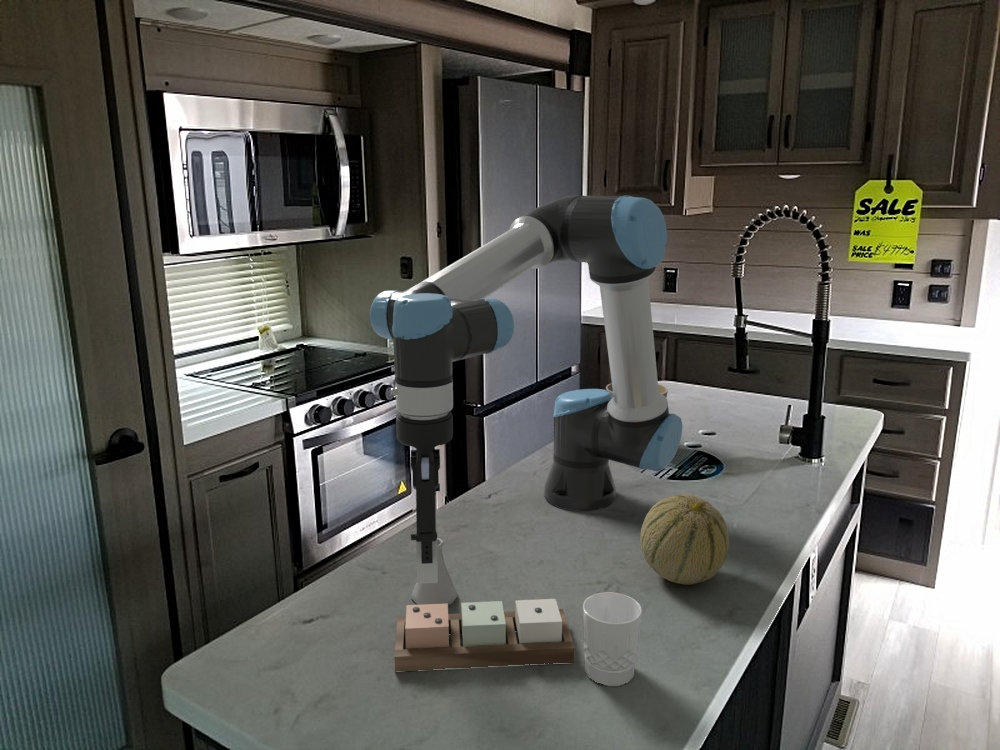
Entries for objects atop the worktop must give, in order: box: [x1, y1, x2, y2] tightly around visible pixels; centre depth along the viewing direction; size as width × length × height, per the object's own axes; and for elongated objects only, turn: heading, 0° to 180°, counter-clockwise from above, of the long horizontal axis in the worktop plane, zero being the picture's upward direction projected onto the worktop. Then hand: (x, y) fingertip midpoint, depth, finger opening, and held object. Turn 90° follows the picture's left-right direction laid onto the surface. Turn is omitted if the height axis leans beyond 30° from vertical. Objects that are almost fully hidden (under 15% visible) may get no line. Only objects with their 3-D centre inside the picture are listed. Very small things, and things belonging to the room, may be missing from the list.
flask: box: [410, 537, 459, 606], centre depth 123 cm, size 7×7×10 cm
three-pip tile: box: [405, 603, 450, 649], centre depth 110 cm, size 6×6×3 cm
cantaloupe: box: [639, 493, 731, 586], centre depth 129 cm, size 15×15×15 cm
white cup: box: [582, 591, 643, 687], centre depth 105 cm, size 8×8×10 cm
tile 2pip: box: [460, 600, 506, 647], centre depth 111 cm, size 6×6×3 cm
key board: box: [393, 608, 576, 673], centre depth 111 cm, size 10×25×2 cm, turn 95°
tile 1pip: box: [514, 598, 562, 644], centre depth 111 cm, size 6×6×3 cm
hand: (427, 557), depth 107 cm, fingers open, 13 cm apart
